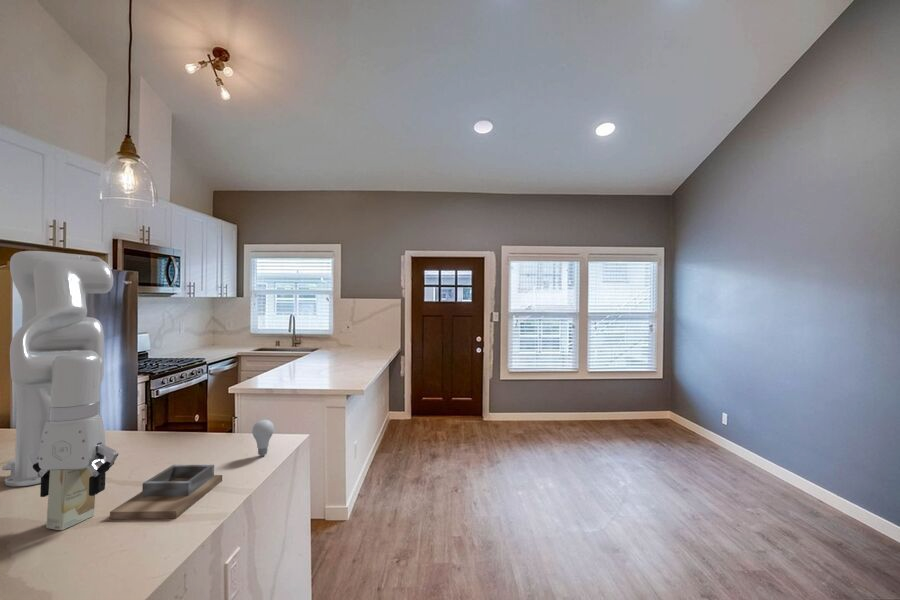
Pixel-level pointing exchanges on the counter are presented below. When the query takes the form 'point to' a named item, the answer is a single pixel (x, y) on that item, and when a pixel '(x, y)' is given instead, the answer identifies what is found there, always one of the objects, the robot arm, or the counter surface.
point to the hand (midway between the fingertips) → (73, 493)
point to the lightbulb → (263, 435)
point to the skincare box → (69, 498)
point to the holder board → (169, 493)
